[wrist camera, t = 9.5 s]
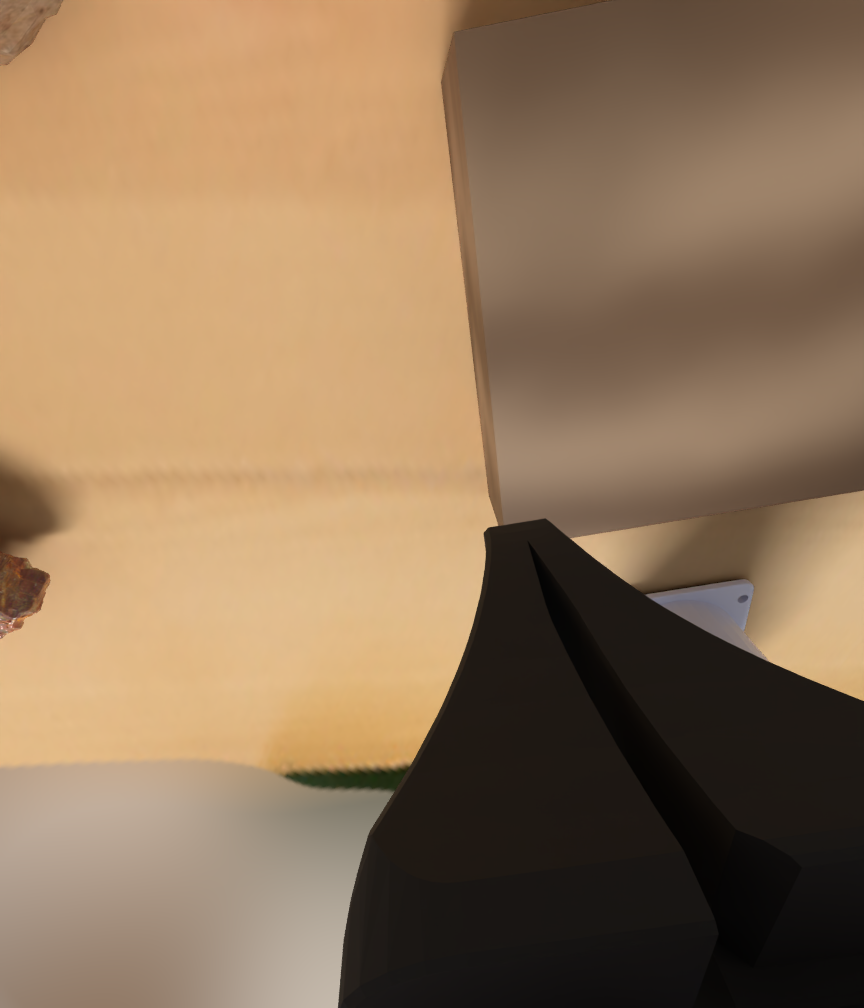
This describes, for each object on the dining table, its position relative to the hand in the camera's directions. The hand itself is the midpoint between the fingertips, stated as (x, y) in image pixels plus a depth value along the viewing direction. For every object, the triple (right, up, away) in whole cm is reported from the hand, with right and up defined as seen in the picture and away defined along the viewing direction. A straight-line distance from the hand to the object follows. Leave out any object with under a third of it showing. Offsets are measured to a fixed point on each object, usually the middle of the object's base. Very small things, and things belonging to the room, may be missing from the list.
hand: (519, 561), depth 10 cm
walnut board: (+7, +9, +7) cm, 13 cm away
